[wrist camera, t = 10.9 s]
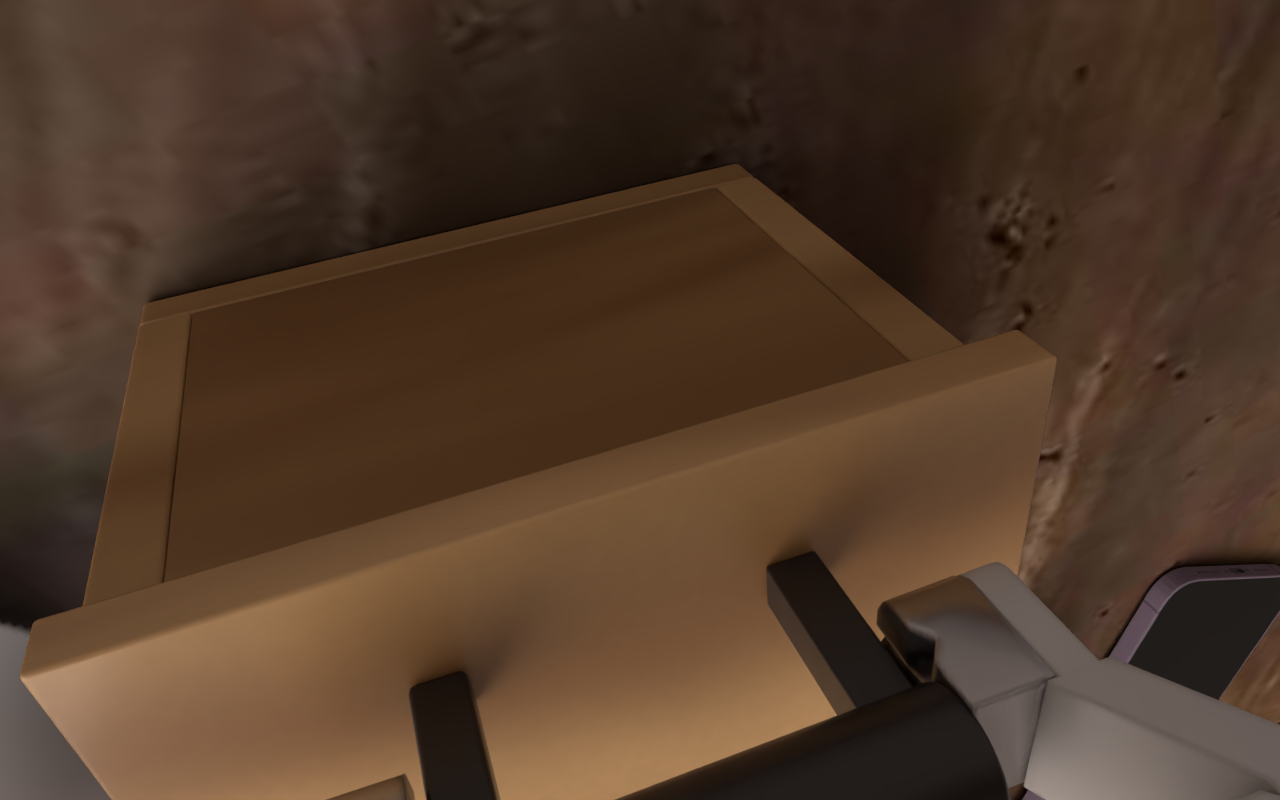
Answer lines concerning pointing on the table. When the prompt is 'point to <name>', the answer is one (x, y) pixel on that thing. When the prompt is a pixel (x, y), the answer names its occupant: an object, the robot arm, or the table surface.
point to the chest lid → (592, 619)
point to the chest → (474, 365)
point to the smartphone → (1200, 625)
